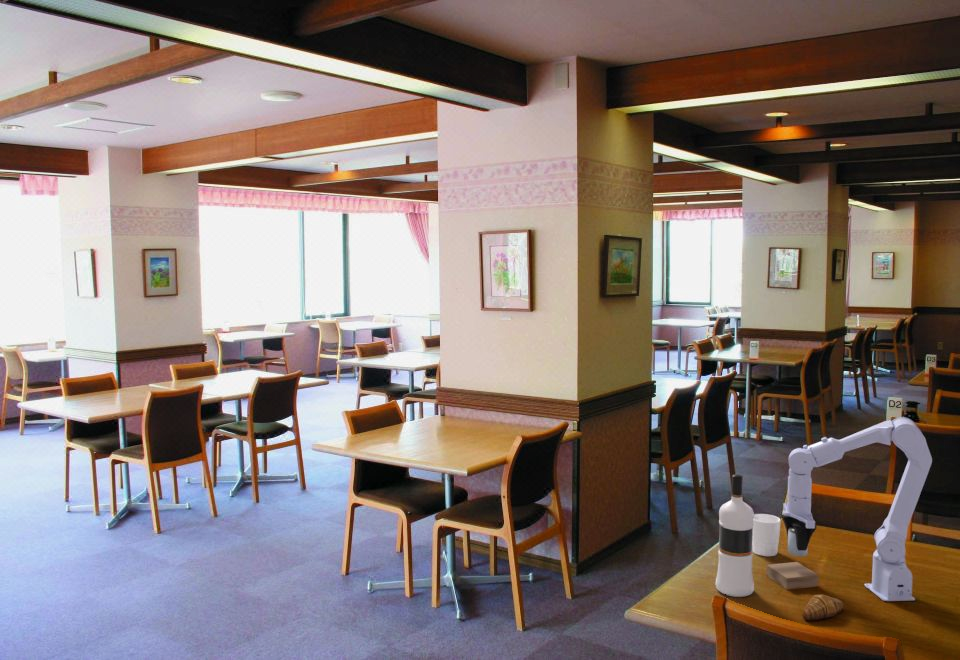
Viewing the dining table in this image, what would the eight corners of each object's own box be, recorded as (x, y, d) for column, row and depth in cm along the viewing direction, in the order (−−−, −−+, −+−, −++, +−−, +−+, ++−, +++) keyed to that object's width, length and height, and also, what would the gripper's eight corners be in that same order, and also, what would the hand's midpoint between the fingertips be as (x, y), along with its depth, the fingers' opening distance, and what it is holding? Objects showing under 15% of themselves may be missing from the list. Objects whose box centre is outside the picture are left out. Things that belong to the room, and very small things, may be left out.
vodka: (713, 594, 198) (715, 477, 196) (717, 580, 207) (720, 468, 204) (752, 601, 195) (755, 481, 192) (755, 586, 203) (758, 472, 200)
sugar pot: (810, 555, 205) (811, 532, 204) (792, 556, 204) (793, 532, 204) (801, 549, 210) (802, 525, 209) (784, 549, 209) (785, 526, 209)
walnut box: (817, 586, 203) (818, 575, 203) (786, 589, 201) (786, 578, 201) (796, 572, 212) (797, 561, 212) (766, 575, 210) (766, 564, 210)
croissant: (828, 603, 194) (829, 583, 193) (854, 613, 188) (854, 593, 187) (791, 616, 187) (792, 595, 187) (816, 627, 181) (817, 606, 181)
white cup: (775, 547, 230) (776, 514, 229) (782, 558, 222) (783, 523, 221) (747, 546, 231) (748, 513, 230) (753, 557, 223) (754, 522, 222)
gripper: (772, 487, 213) (771, 536, 214) (796, 504, 198) (794, 556, 199) (798, 486, 213) (796, 536, 214) (824, 503, 198) (821, 556, 200)
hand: (797, 546), depth 207 cm, fingers closed on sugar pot, 5 cm apart
